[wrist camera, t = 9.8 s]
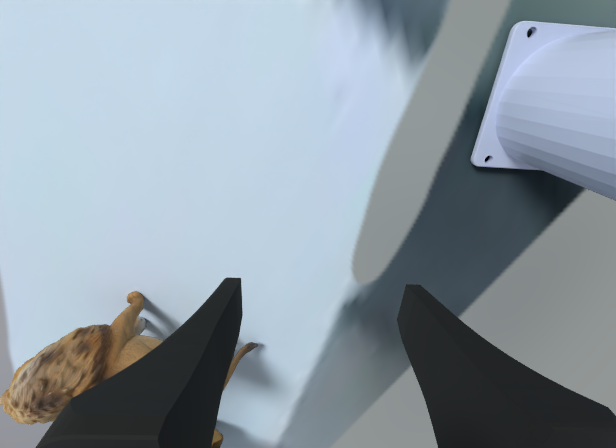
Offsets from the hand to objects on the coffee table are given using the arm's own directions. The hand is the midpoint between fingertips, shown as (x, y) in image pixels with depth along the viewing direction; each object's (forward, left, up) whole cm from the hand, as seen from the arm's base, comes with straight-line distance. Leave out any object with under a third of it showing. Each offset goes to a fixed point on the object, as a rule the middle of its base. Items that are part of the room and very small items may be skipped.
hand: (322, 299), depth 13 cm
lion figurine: (+12, +11, -10) cm, 19 cm away
